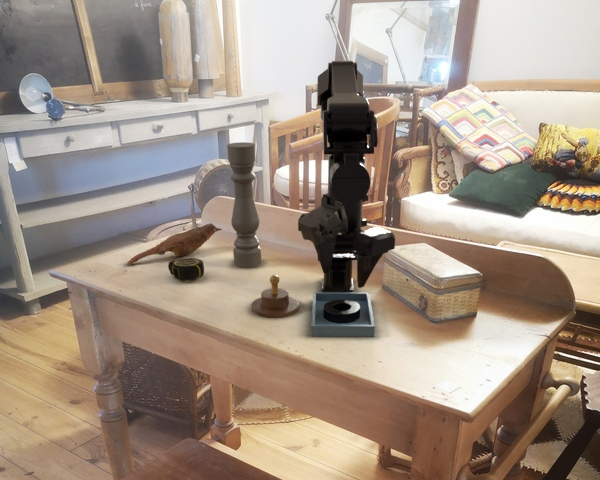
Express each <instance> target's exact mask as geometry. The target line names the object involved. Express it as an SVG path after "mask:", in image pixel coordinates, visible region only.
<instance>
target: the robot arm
mask: <svg viewBox="0 0 600 480" xmlns="http://www.w3.org/2000/svg"><path fill="white" fill-rule="evenodd" d="M316 84H317V85H316V106H317V107H320V119H321V121H322V143H323V144H322V147H323V150H322V151H323V155H328V171H327V173H328V177H327V178H328V179H327V180H328V181H327V186H328V187H327V193H323V194H322V196H321V199H320V206H318V207H316V208H313V209H312V210H311V211H309V212H304V213H302V214H301V215H300V216H299V218H298V219H297V231H299V232H301V236H302V239H303V240H304V241H307V240H308V241H310V242H311V243H312V244H313V246H314V249H315V251H316V256H317V261H318V262H319V264H320V266H321V270H322V273H323V278H321V292H355V286H354V279H353V261H356V264H357V265H356V270H357V271H356V273H357V274H356V282H357V288H359V289H361V288H364V287H365V285H366V284H367V282H368V280H369V278H370V276H371V274H372V273H373V271H374V270H375V267H376V266H377V264H378V262H379V261H380V259H381V258H382V256H383V255H384V254H387V253H389V252H390V251H392V250H395V249H396V248H395V247H396V235H395V234H394V232H393V230H392V231H391V230H389V229H385V228H381V227H379V226H375V227H372V228H368V229H367V228H366V229H362V228H364V227H368V219H367V218H363V206H364V202H368V201H369V194H368V193H369V191H370V188H371V177H370V173H369V171H368V169H367V167H366V165H365V164H366V163H365V159H366V158H365V155H374V154H375V148H377V147H378V143H379V141H378V140H379V139H378V119H377V117H376V116H375V111H374V109H370V103H369V101H368V98H367V97H365V96H364V75H363V74H362V73H361V72H360V71H359V70H358V62H354V61H353V60H332V61H331V62H328V63H327V69H325V70H324V71H323V72H322V73H320V74H319V75H318V76H317V83H316Z"/></svg>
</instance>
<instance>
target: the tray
mask: <svg viewBox="0 0 600 480" xmlns="http://www.w3.org/2000/svg"><path fill="white" fill-rule="evenodd" d="M333 300H349V301H354V302H356V303H357V304H359V305H360V318H359V319H358V320H356V321H355V322H351V323H334V322H329V321H327V320H326V319H325V318H324V317H323V306H324V304H325V303H327V302H329V301H333ZM375 332H376V324H375V318H374V312H373V305H372V301H371V293H370V292H366V291H365V292H364V291H363V292H361V291H359V292H355V291H354V292H322V291H321V292H320V291H319V292H317V291H313V292H312V307H311V337H339V338H340V337H344V338H345V337H347V338H348V337H350V338H351V337H352V338H354V337H356V338H358V337H359V338H362V337H363V338H367V337H368V338H375Z"/></svg>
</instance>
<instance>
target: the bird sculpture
mask: <svg viewBox="0 0 600 480" xmlns="http://www.w3.org/2000/svg"><path fill="white" fill-rule="evenodd" d="M222 230H223V229H222V228H220V227H217V226H215V224H214V223H211V222H210V223H207V224H204V225H202V226H194V227H193V228H190V229H188V230H186V231H183V232H179V233H174V234H172V235H170V236H168V237H167V238H165V240H163V241H161V242H159V244H156V245H155V246H153V247H151V248H149V249H147V250H144V251H142V252H140V253H138V254H135V255H134V256H133V257H131V258H130V259H129V260H128V261H127V264H126V265H127V266H128V265H132V264H135V263H136V262H138V261H139V260H142V259H144V258H146V257H149V256H154V255H159V256H163V255H165V253H169V252H171V253H173V254H174V255H175V256H176V257H184V256H188V255H190V254H192V253H194V252H196V251H197V250H198V249H199V248H201V247H202V246H203V245H204V244H205V243H206V242H207V241H210V239H211V237H212V236H213V235H214V234H215V233H216V232H219V231H222Z"/></svg>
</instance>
